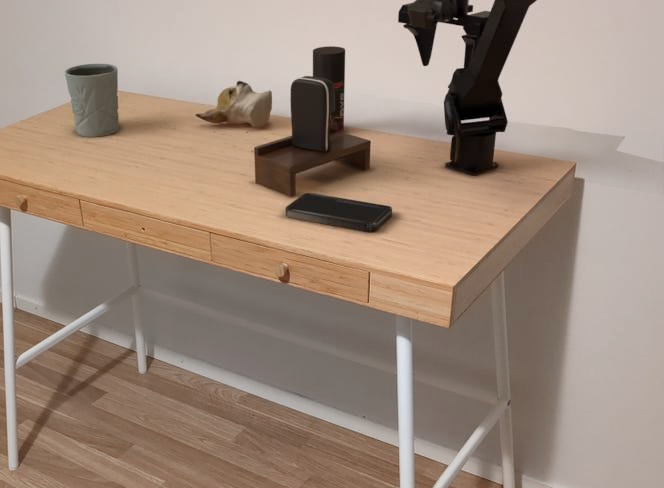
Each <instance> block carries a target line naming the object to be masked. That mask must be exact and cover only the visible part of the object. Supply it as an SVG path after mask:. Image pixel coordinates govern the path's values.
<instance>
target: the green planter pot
mask: <svg viewBox="0 0 664 488" xmlns="http://www.w3.org/2000/svg"><path fill="white" fill-rule="evenodd" d="M118 71H119V70H118V67H117V66H116V65H113V64H109V63H87V64H86V63H85V64H79V65H75V66H71V67H68V68H67V69H65V70H64V76H65V81H66V85H67V90H68V94H69V97H70V104H71V109H72V113H73V121H74V125H75V131H76V134H77V135H79V136H81V137H87V138H98V137H105V136H109V135H113V134H114V133H116V132H118V131H119V129H120V122H119V121H120V119H119V117H120V116H119V111H118V110H119V96H118V89H119V85H118V84H119V82H118V81H119V80H118V74H119V73H118Z"/></svg>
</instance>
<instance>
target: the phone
mask: <svg viewBox="0 0 664 488" xmlns="http://www.w3.org/2000/svg"><path fill="white" fill-rule="evenodd" d="M285 216H286V217H288V218H292V219H298V220H302V221H303V220H304V221H306V222H307V221H308V222H313V223H318V224H324V225H329V226H335V227H341V228H345V229H352V230H357V231H361V232H368V233H372V232H376V231H378V229H380V228H381V227H382V226H383V225H384V224H385V223H386V222H387V221H388V220H389V219H390V218H392V216H393V207H392V206H391V205H387V204H386V205H385V204H379V203H373V202H367V201H361V200H356V199H349V198H345V197H338V196H332V195H331V196H330V195H326V194H320V193H313V192H305V193H303V194H301V195H300V196H299V197H297V198H296V199H295V200H293V201H292V202H291V203H289V204H288V205H287V206H285Z"/></svg>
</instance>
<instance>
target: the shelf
mask: <svg viewBox="0 0 664 488" xmlns="http://www.w3.org/2000/svg"><path fill="white" fill-rule="evenodd" d="M337 130H338V124H337V123H331V124H330V128H329V135H330V141H331V148H330V149H328V150H327V151H325V152H321V151H314V150H308V149H304V148H300V147H296V146H293V145H292V135H289V136H286V137H283V138H280V139H276V140H273V141H270V142H267V143H264V144H260V145H256V146H254V147H253V154H254V177H255V178H254V182H255V184H257V185H260V186H263V187H265V188H267V189H269V190H271V191H274V192H277V193H279V194H282V195H284V196H287V197H289V198H293V197H295V196H296V195H297V182H296V181H297V175H296V174H299V173H303V172H305V171H308V170H312V169H314V168H317V167H320V166H322V165H326V164H328V163H331V162H338V163H341V164H344V165H347V166H349V167H353V168H355V169H356V168H357V169H358V170H362V171H365V172H366V171H368V170H370V169H371V144H372V143H371V140H369V139H367V138H363V137H360V136H356V135H353V134H351V133H347V132H344V131H343V132H341V131H337Z"/></svg>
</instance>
